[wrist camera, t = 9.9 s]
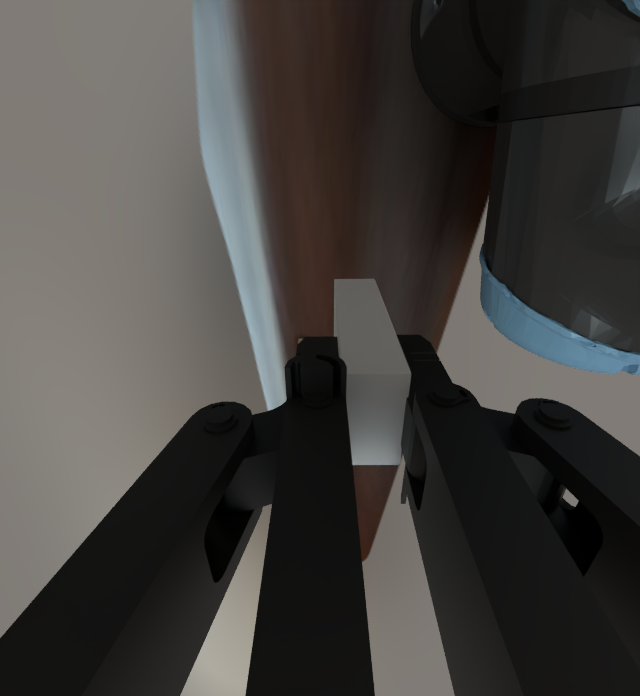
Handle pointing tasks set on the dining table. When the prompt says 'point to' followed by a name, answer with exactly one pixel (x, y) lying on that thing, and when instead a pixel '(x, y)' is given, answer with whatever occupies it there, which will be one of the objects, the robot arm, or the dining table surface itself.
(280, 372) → the dining table surface
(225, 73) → the dining table surface
